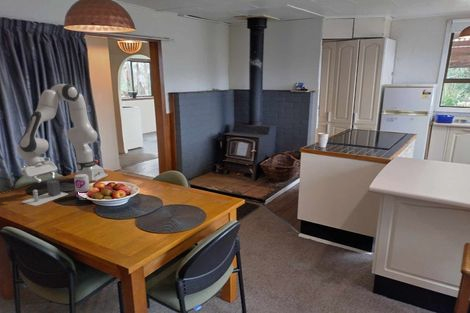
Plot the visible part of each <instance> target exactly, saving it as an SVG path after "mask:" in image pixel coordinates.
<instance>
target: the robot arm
mask: <svg viewBox="0 0 470 313" xmlns="http://www.w3.org/2000/svg"><path fill="white" fill-rule="evenodd" d="M61 101H66V102H67V104H68V110H69V115H70V120H71V122H72V123H73V124H74V127H71V128H69V129H68V130H67V131H66V138H67V139H68V140H69V141H70V142H71V145H72V146H73V148H74V151H75V156H76V168H77V175H78V174H87V176H88V178H89V182H96V181H99V180H102V179H103V178H105V177H107V176H109V174H108V173H105V169H104V168H103V167H102V166H99V165H98V164H97V163H99V160H98V159H94V156H93V154H94V153H93V150H92V148H91V147H90V146H89V144H93V143H95V142H96V141H97V140H98V132H97V131H96V130H95V129H94V128H93V127H92V124H91V122H90V120H89V117H88V111H87V105H86V101H85V97H84V95H83V94H82V93H80V92H79V89H78V88H77V87H76V86H75V85H74V84H69V83H60V84H59V83H58V84H57V83H56V84H53V85H51V87H49V89H45V90H43V92H41V94H40V97H39V100H38V103H37V106H36V109H35V110H34V111H33V113H32V114H31V116H30V118H29V121H28V123H27V126H26V128H25V131H24V133H23V134H22V137H21V138H20V140H19V143H18V146H17V152H18V155H20V157H21V158H22V160H24V161H25V164H26V165H24V166H21V167H20V172H21V173H22V174H23V177H24V178H25V180H28V181H29V180H32V179H33V180H34V181H36V182H37V183H38V184H40V183H42V180H41V178H39V177H44V176H48V175H51V177H50V178H51V180H55V179H56V175H55V173H57V171H58V166H56V164H55V163H54V162H53V161H51V158H50V157H41V155H43V154H45V153H46V152H47V151H48V150H49V147H50V146H49V145H50V144H49V142H48V140H46V139H45V138H40V137H37V136H36V135H37V132H38V129H39V127H40V126H41V124H42V123H44V122H46V121H51V120H53V119H54V118H55V117H56V114H57V112H58V107H59V103H60V102H61Z"/></svg>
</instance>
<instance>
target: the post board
mask: <svg viewBox="0 0 470 313" xmlns="http://www.w3.org/2000/svg"><path fill="white" fill-rule="evenodd" d="M60 192H61V194H60V195H57V196H54V197H53V196H49V195H48V192H47V193H44V194H41V195H39V193H38V189H33V190H32V196H33V198H29V199H26V200H23V201H22V204H24V203H25V204H27V205H30V206H31V205H32V206H35V207H36V206H40V205H43V204H45V203H49V202H51V201H53V200H57V199H60V198H62V197H65V196H68V195H69V193H67V192H63V191H60Z"/></svg>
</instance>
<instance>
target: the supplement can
mask: <svg viewBox="0 0 470 313" xmlns="http://www.w3.org/2000/svg"><path fill="white" fill-rule="evenodd" d="M73 181H74V187H75V196H76V198H78V200H79V201H85V200H86V199H83V198H81V197H80V196H79V195H78V192H79V193H87V192H88V191H89V189H90V190H91V187H90V181H89V178H88V176H87V174H78V173H77V174H76V175H74V178H73Z"/></svg>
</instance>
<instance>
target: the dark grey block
mask: <svg viewBox="0 0 470 313" xmlns="http://www.w3.org/2000/svg"><path fill="white" fill-rule="evenodd" d="M46 188H47V193H48V195H49V196H53V197H54V196H57V195H60V194H61V192H62V191H61V184H60V181H59V180H55V179H52V180H50V181H49V180H48V181H47V182H46Z"/></svg>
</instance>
